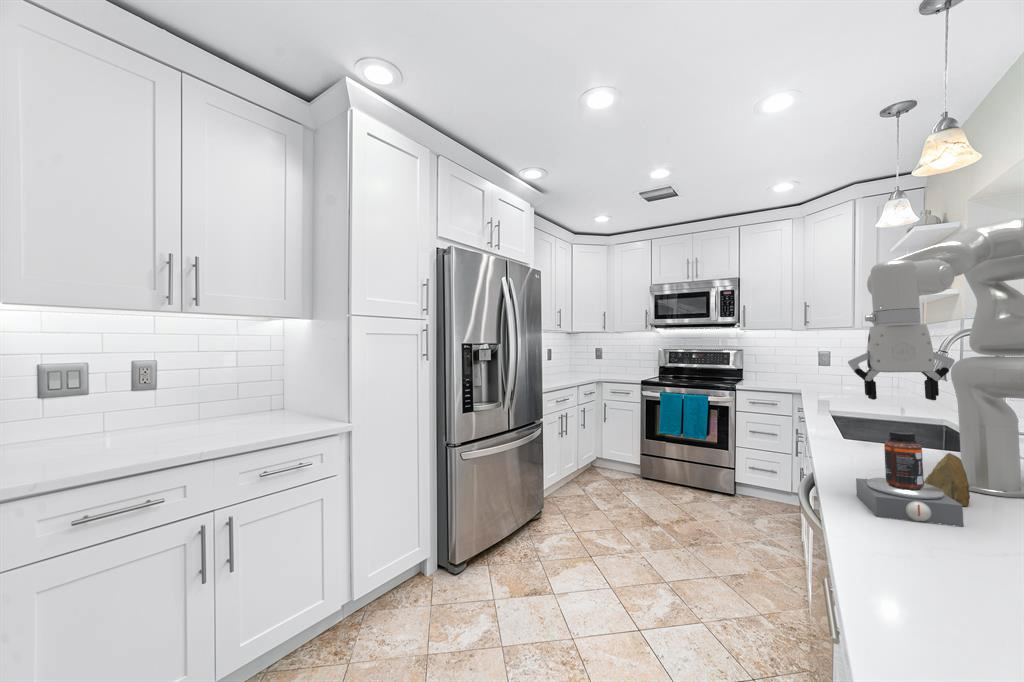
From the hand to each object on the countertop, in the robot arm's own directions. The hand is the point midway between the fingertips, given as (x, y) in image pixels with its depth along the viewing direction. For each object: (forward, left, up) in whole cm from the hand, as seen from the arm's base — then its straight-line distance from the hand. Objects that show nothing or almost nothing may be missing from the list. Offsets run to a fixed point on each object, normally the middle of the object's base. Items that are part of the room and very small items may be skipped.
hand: (900, 399), depth 91 cm
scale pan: (0, 0, -20) cm, 20 cm away
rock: (-12, +10, -24) cm, 28 cm away
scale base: (0, 0, -23) cm, 23 cm away
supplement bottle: (0, 0, -18) cm, 18 cm away
